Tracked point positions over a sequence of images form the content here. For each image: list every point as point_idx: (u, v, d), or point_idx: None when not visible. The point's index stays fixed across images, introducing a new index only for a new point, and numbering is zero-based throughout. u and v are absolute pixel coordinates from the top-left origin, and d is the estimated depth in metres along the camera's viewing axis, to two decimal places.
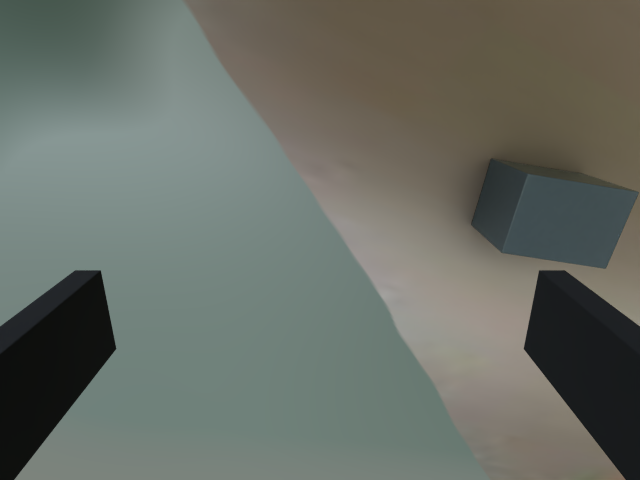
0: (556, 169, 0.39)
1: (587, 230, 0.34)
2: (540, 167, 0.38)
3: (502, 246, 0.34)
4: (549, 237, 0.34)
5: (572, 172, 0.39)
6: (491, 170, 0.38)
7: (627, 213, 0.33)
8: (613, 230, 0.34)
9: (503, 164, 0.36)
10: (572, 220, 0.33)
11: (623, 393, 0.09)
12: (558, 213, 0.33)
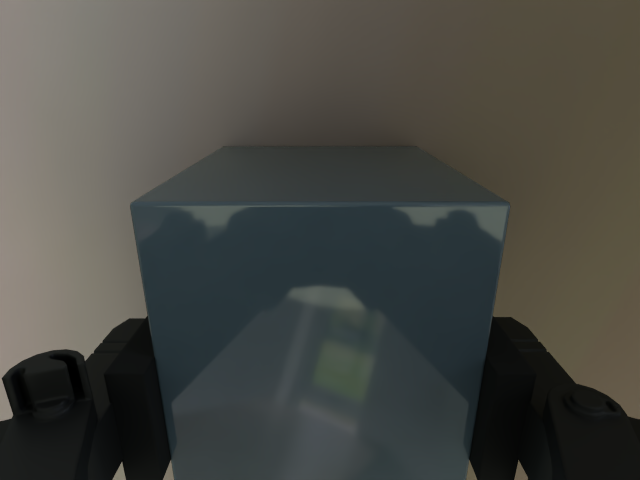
0: None
1: (305, 472, 0.09)
2: None
3: (161, 200, 0.07)
4: (251, 367, 0.08)
5: None
6: (393, 149, 0.13)
7: None
8: None
9: None
10: (332, 420, 0.09)
11: None
12: (354, 367, 0.08)
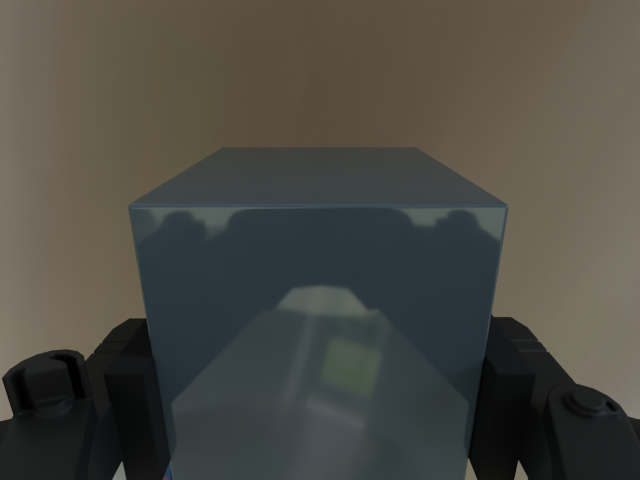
0: None
1: (303, 473, 0.09)
2: None
3: (159, 201, 0.07)
4: (249, 369, 0.08)
5: None
6: (392, 151, 0.13)
7: None
8: None
9: (436, 161, 0.11)
10: (330, 421, 0.09)
11: None
12: (353, 369, 0.08)
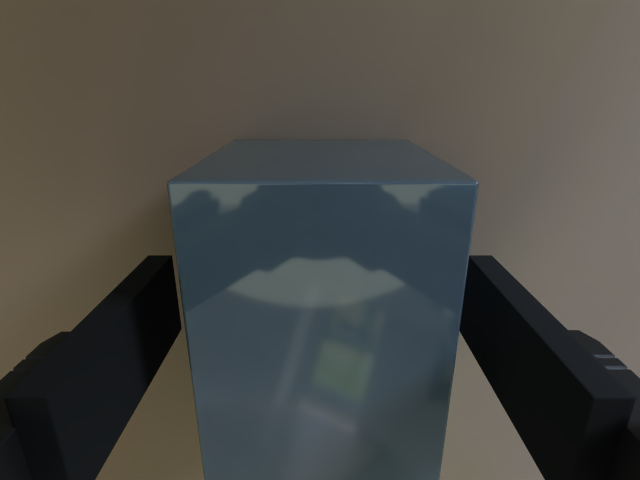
0: None
1: (309, 415, 0.11)
2: None
3: (192, 179, 0.09)
4: (264, 322, 0.10)
5: None
6: (387, 142, 0.15)
7: None
8: (323, 476, 0.12)
9: (425, 151, 0.13)
10: (332, 368, 0.10)
11: (518, 359, 0.10)
12: (351, 322, 0.10)
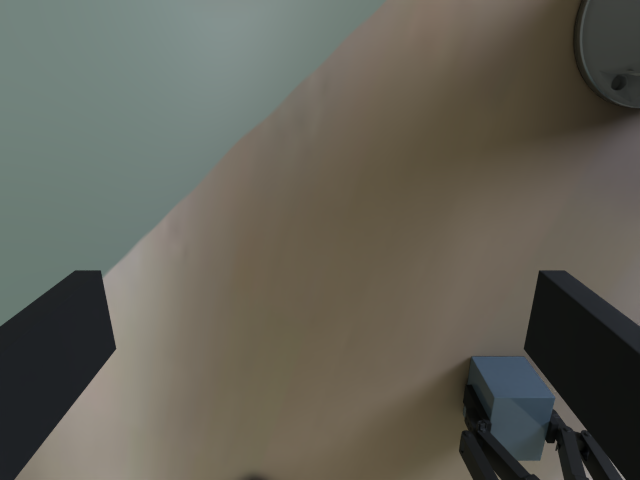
0: None
1: (512, 441, 0.47)
2: None
3: (498, 396, 0.45)
4: (507, 422, 0.46)
5: None
6: (519, 361, 0.51)
7: (525, 459, 0.48)
8: (513, 456, 0.48)
9: (534, 370, 0.49)
10: (520, 431, 0.47)
11: (623, 393, 0.09)
12: (526, 422, 0.46)
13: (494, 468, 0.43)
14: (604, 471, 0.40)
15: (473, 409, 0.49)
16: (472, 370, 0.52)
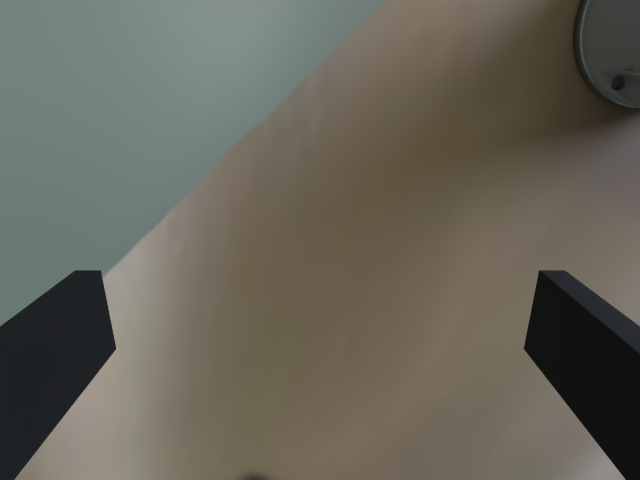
0: None
1: None
2: None
3: None
4: None
5: None
6: None
7: None
8: None
9: None
10: None
11: (623, 393, 0.09)
12: None
13: None
14: None
15: None
16: None
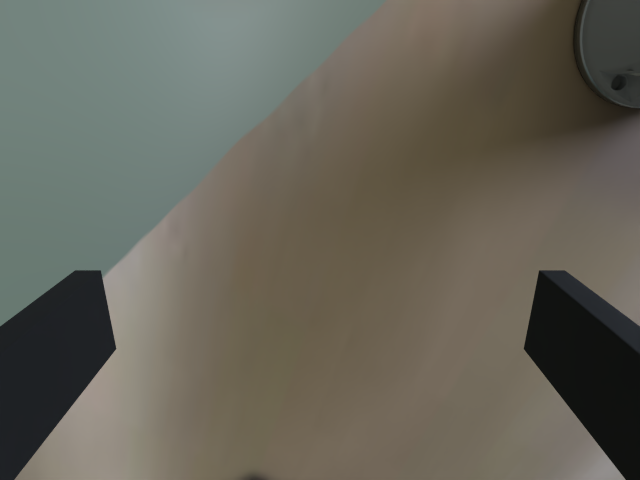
0: None
1: None
2: None
3: None
4: None
5: None
6: None
7: None
8: None
9: None
10: None
11: (623, 393, 0.09)
12: None
13: None
14: None
15: None
16: None
